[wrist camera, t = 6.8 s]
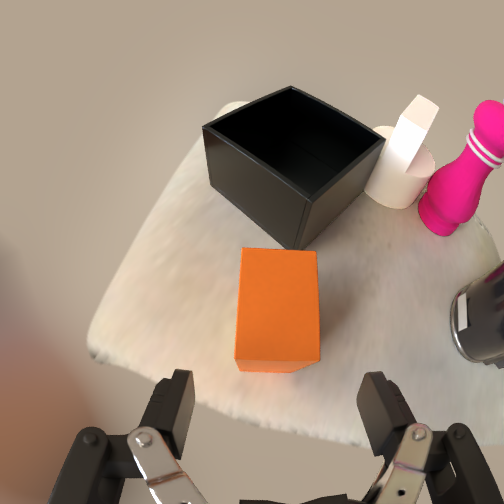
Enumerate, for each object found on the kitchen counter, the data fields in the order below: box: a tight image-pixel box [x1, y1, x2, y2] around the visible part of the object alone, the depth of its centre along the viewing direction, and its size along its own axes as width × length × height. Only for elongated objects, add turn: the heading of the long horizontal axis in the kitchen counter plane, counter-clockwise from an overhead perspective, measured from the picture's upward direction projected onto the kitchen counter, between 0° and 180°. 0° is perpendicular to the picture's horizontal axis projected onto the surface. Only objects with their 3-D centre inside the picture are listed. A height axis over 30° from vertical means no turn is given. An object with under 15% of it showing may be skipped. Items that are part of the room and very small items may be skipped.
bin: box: [202, 86, 386, 250], centre depth 28 cm, size 13×13×9 cm
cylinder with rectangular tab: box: [364, 95, 439, 209], centre depth 27 cm, size 9×9×12 cm
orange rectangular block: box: [234, 248, 320, 373], centre depth 19 cm, size 4×6×10 cm
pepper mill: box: [418, 100, 504, 236], centre depth 21 cm, size 7×7×20 cm
